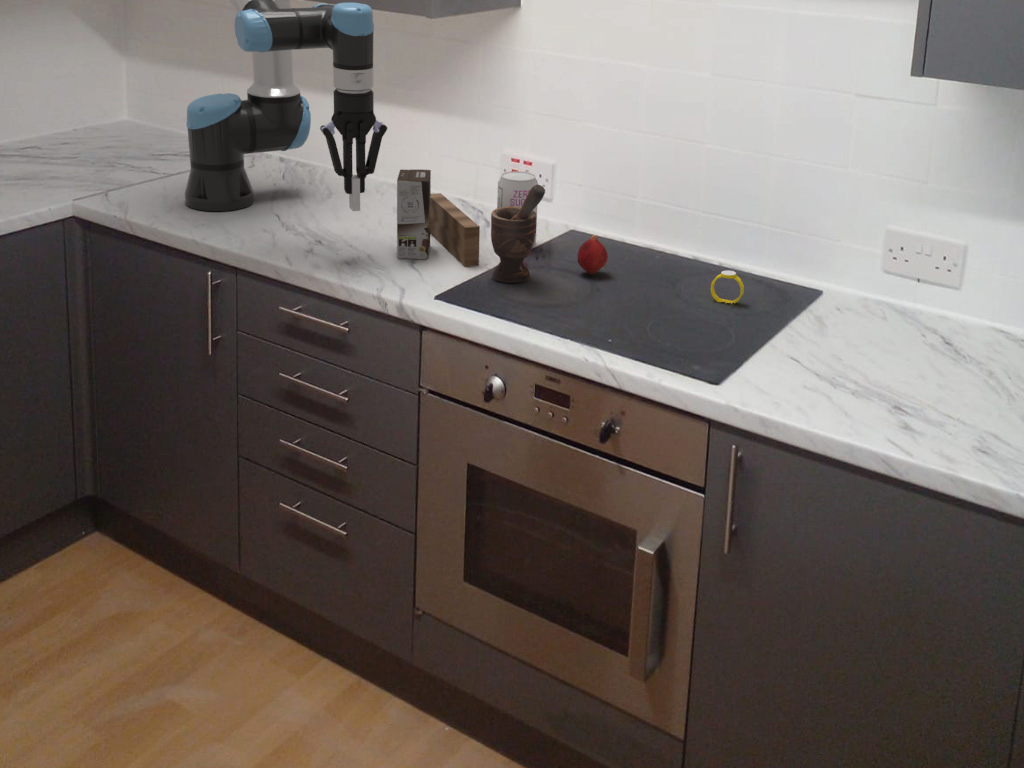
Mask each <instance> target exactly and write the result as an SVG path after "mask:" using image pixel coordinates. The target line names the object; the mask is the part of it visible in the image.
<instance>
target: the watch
mask: <svg viewBox="0 0 1024 768" xmlns="http://www.w3.org/2000/svg"><path fill="white" fill-rule="evenodd" d="M721 278H724V279H734V280H735V282H737V284H738V286H739V287H740V293H739V296H738V297H737V298H735V299H733V300H730V299H724V298H720V297H719V296H718V295H717V294H716V291H715V285H716V281H717V280H718V279H721ZM744 291H745V286H744V283H743V281H742V279H741V278H740V277H739V276H738V275H737V273H736V272H735V271H734V270H723V271H721V273H720V274H718V275H716V277H715V278H714V279H713V280H712V281H711V283H710V293H711V296H712V298H713V299H714V300H715V301H716V302H717V303H721V302H725V303H724V304H727V303H731V304H730V305H733V304H732V303H734V304H736V303H738V302H739V301H740V299H741V298H742V297H743V295H744Z"/></svg>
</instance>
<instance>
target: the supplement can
mask: <svg viewBox="0 0 1024 768" xmlns="http://www.w3.org/2000/svg"><path fill="white" fill-rule="evenodd" d="M535 185H539V183H538V179H537V177H536V174H533V173H532V172H526V171H516V170H515V171H511V170H510V171H507V172H503V173H502V174H501V175H500V177H499V180H498V181H497V198H496V199H497V203H496V204H497V205H496V209H497V208H501V207H508V206H515V207H520V208H521V207H522V205H523V203H524V201H525V199H526V197H527V195H528V193H529V191H530V190H531V188H532V187H533V186H535ZM533 211H534V212H535V213H536V214H537V215H538V205H537V206H536V207H535V208H534V209H533ZM537 220H538V218H537V219H536V227H535V239H534V244H533V247H532V249H533V248H534V247H535V246H536V245H537V226H538V225H537V224H538V223H537V222H538V221H537Z"/></svg>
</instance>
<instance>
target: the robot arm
mask: <svg viewBox="0 0 1024 768" xmlns="http://www.w3.org/2000/svg"><path fill="white" fill-rule="evenodd" d="M228 2H229V3H230V5H231V7H232V9H233V10H234V12H235V13H236V15H235V19H234V34H235V37H236V41H237V45H238V46H239V48H240V49H241V50H242V51H244V52H248V53H249V52H251V53H252V54H251V55H252V74H253V75H252V77H253V83H252V84H251V85H250V86H249V87H248V88H247V90H246V94H247V98H246V99H244V100H243V99H242V98H240V95H238V94H236V93H215V94H209V95H208V94H207V95H204V96H201V97H198V98H195V99H194V100H192V101H191V102H190V103H189V104H188V106H187V107H186V128H187V137H188V140H187V141H188V150H189V162H190V171H189V175H188V178H187V179H188V180H187V183H186V188H185V191H184V201H185V202H184V203H185V205H186V206H187V207H189V208H191V209H195V210H199V211H205V212H228V211H229V212H230V211H235V210H240V209H245V208H247V207H249V206H252V205H253V204H254V202H255V194H254V189H253V187H252V184H251V181H250V179H249V177H248V174H247V171H246V168H245V155H247V154H258V153H268V152H278V151H279V152H286V151H288V150H294V149H295V150H296V149H299V148H301V147H302V146H304V144H305V143H306V142H307V140H308V138H309V135H310V131H311V122H312V121H311V120H312V119H311V115H312V114H311V110H310V105H309V102H308V100H307V98H306V97H304V96H303V95H301V89H300V88H299V87H298V86H297V85H296V84H295V83H294V77H293V76H294V75H293V74H294V73H293V72H294V71H293V68H294V67H293V50H312V49H314V50H315V49H331V51H332V71H333V72H332V73H333V77H332V78H333V79H332V80H333V81H332V84H333V87H334V88H335V89H334V90H333V114H332V116H331V120H330V122H328V123H327V124H326V125H325V124H324V125H323V124H322V125H320V128H319V130H320V131H321V133H322V134H323V135H324V138H325V139H326V144H327V148H328V151H329V155H330V160H331V162H332V166H333V169H334V170H333V171H334V172H335V174H337V176H339V177H343V190H344V192H345V194H347V195H348V199H349V201H348V203H349V208H350V210H352V212H360V211H361V194H363V193H365V191H366V179H367V176H368V175H373V174H374V173H375V169H376V166H377V162H378V161H377V160H378V157H379V153H380V148H381V144H382V140H383V138H384V135H385V134H386V133H387V131H388V126H387V125H386V124H385V123H384V122H383V121H381V122H380V121H378V120H377V117H376V115H375V112H374V109H375V108H374V101H375V100H374V91H373V88H374V29H375V24H374V23H375V22H374V15H373V12H374V11H373V9H372V7H371V6H370V5H368V4H367V3H366V4H365V3H359V2H340V3H335V4H331V3H329V4H328V3H318V4H314V5H313V6H312V7H298V8H297V7H294V8H293V7H292V8H291V0H228ZM335 129H336V130H337V131H338V132H339V134H340V135H341V137H342V138H341V139H342V160H343V161H342V162H341V157H340V155H339V154H340V153H339V149H338V146H337V142H336V140H335V137H334V135H335V132H336V131H335ZM371 130H372V131H373V132H372V136H371V139H370V140H371V141H370V144H369V147H368V149H369V150H368V152H367V157H366V143H367V139H366V138H367V136H368V134H369V132H370V131H371ZM354 139H355V164H356V165H355V172H356V174H353V144H354Z"/></svg>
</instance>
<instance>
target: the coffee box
mask: <svg viewBox="0 0 1024 768" xmlns="http://www.w3.org/2000/svg"><path fill="white" fill-rule="evenodd" d="M431 173H432V171H431V169H400V170H399V171H398V175H397V180H396V184H397V185H396V188H397V189H396V193H397V194H396V199H397V200H396V258H397V259H413V260H415V259H416V260H427V259H428V258H429V254H430V253H429V252H430V248H431V234H430V195H431V194H432V193H431V190H432V189H431V182H432V181H431V179H432V177H431Z"/></svg>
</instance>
